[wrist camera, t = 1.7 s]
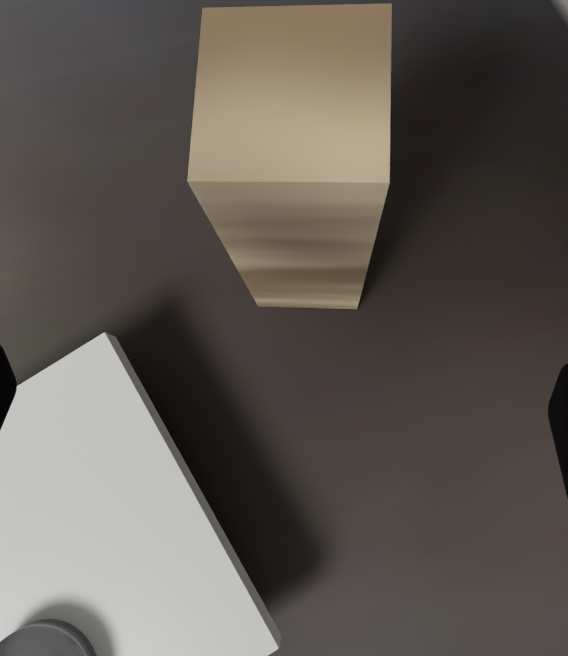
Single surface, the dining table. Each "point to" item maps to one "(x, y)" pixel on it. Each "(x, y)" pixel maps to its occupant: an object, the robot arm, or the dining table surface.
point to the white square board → (115, 522)
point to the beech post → (294, 145)
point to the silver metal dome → (46, 640)
